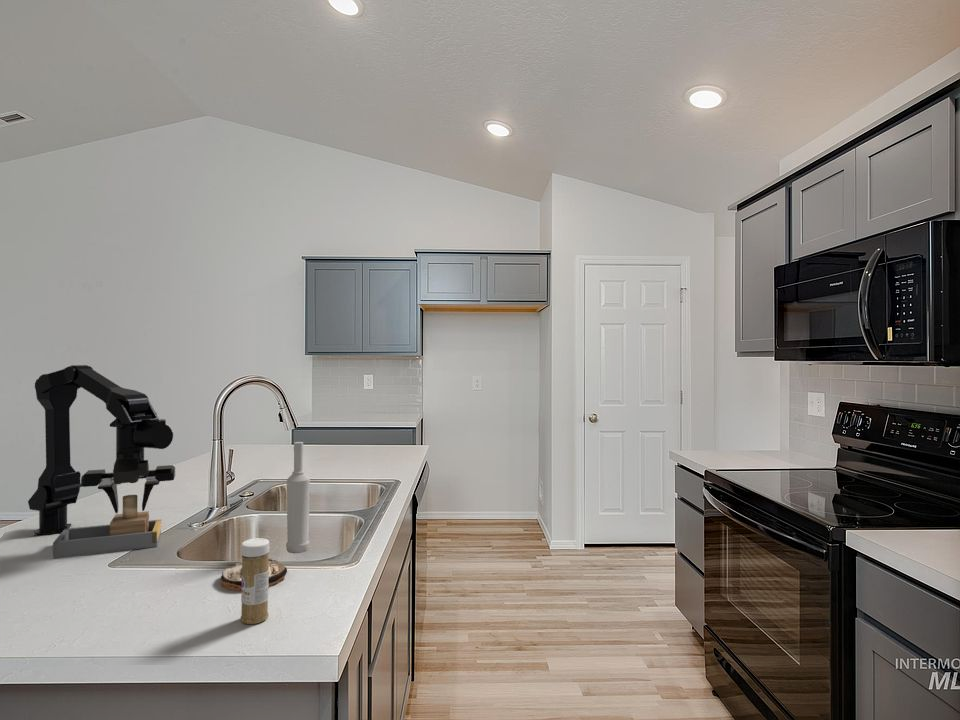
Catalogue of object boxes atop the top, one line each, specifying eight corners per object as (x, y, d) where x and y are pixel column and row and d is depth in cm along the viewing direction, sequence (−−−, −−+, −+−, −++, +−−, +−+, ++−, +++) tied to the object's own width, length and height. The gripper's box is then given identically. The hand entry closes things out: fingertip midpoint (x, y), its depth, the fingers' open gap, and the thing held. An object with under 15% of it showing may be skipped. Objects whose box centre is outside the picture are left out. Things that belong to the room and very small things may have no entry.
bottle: (314, 548, 135) (314, 441, 135) (298, 555, 131) (299, 445, 130) (297, 544, 138) (297, 440, 137) (281, 551, 133) (281, 443, 133)
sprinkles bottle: (235, 619, 99) (235, 541, 99) (260, 610, 103) (260, 535, 103) (249, 628, 96) (249, 547, 96) (274, 618, 100) (274, 541, 100)
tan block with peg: (115, 534, 140) (115, 493, 140) (149, 531, 143) (149, 491, 143) (109, 545, 132) (109, 501, 132) (145, 541, 135) (145, 498, 135)
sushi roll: (298, 588, 114) (298, 567, 114) (215, 602, 107) (215, 579, 107) (288, 563, 127) (288, 544, 127) (213, 573, 121) (213, 554, 121)
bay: (64, 543, 137) (65, 528, 137) (161, 533, 145) (161, 519, 145) (52, 558, 127) (52, 542, 127) (156, 546, 135) (156, 531, 135)
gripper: (75, 454, 126) (75, 525, 126) (172, 449, 134) (171, 516, 134) (86, 446, 136) (86, 512, 136) (175, 442, 144) (175, 504, 144)
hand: (130, 511), depth 138 cm, fingers open, 5 cm apart
